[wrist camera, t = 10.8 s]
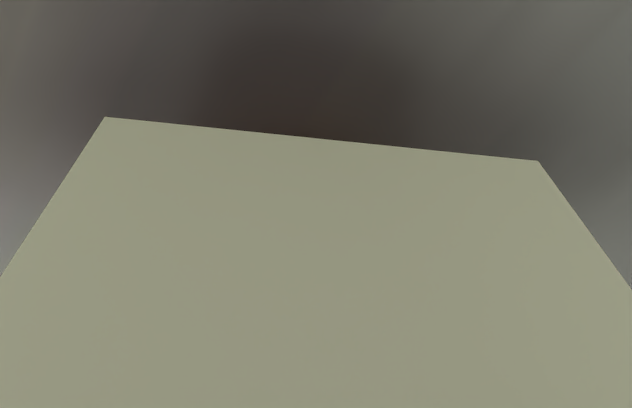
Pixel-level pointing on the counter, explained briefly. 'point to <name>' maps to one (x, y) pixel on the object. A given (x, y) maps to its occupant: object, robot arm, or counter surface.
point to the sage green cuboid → (308, 280)
